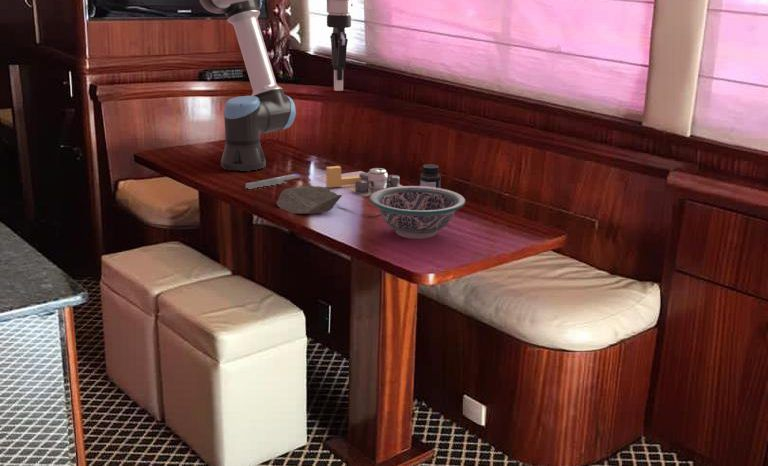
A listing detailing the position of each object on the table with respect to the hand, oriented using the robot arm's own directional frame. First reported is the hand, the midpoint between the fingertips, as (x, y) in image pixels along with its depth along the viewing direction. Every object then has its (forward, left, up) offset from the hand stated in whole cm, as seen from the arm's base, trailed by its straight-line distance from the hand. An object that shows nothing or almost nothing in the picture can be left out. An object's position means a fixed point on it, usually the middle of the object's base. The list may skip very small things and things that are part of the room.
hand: (338, 90), depth 270 cm
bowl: (+61, -16, -29) cm, 69 cm away
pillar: (-2, -23, -29) cm, 37 cm away
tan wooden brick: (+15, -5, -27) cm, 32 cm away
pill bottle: (+40, +6, -29) cm, 50 cm away
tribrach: (+14, 0, -28) cm, 32 cm away
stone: (+25, -28, -29) cm, 48 cm away
